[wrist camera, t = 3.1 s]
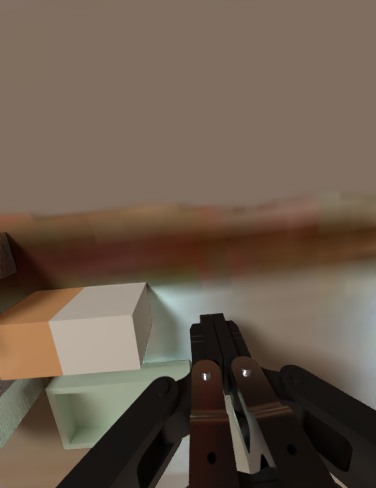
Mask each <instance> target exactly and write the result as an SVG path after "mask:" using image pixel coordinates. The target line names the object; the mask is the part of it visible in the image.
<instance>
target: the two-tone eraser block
mask: <svg viewBox="0 0 376 488" xmlns="http://www.w3.org/2000/svg"><path fill="white" fill-rule="evenodd" d="M151 326H152V323H151V315H150V308H149V301H148V293H147V286H146V283H133V284H120V285H107V286H94V287H81V288H68V289H55V290H42V291H36V292H34V293H33V294H31V295H29V296H28V297H26V298H25V299H23V300H22V301H20V302H19V303H17V304H16V305H14V306H12V307H11V308H9V309H8V310H6V311H5V312H3V313H2V314H0V378H1V380H13V379H25V378H38V377H50V376H63V375H75V374H88V373H100V372H113V371H125V370H138V369H141V366H142V362H143V358H144V354H145V350H146V346H147V342H148V338H149V334H150V330H151Z"/></svg>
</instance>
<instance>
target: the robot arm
mask: <svg viewBox="0 0 376 488" xmlns="http://www.w3.org/2000/svg"><path fill="white" fill-rule="evenodd" d="M190 339H191V352H192V368H191V371H190V372H189V373H188V374H187V375H186V376H185V377H183V378H182V379H179V380H177V381H175V380H174V379H173V378H171V377H169V376H162V377H158V378H156V379H155V380H154V381H152V382H151V384H150V385H149V386H148V387H147V388H146V389H145V390H144V391H143V392H142V393H141V395H140V396H139V397H138V398H137V399H136V400H135V401H134V402H133V403H132V404H131V405H130V407H129V408H128V409H127V410H126V411H125V412H124V413H123V414H122V415H121V416H120V418H119V419H118V420H117V421H116V422H115V423H114V424H113V425H112V426H111V427H110V429H109V430H108V431H107V432H106V433H105V434H104V435H103V436H102V437H101V438H100V440H99V441H98V442H97V443H96V444H95V445H94V446H93V447H92V448H91V449H90V451H89V452H88V453H87V454H86V455H85V456H84V457H83V458H82V459H81V460H80V462H79V463H78V464H77V465H76V466H75V467H74V468H73V469H72V470H71V471H70V473H69V474H68V475H67V476H66V477H65V478H64V479H63V480H62V481H61V482H60V484H59V485H58V486H57V487H56V488H155V487H156V485H157V483H158V481H159V480H160V478H161V476H162V475H163V473H164V471H165V469H166V468H167V466H168V464H169V463H170V461H171V459H172V457H173V456H174V454H175V452H176V451H177V449H178V447H179V445H180V443H181V441H182V438H184V437H186V436H188V435H190V443H189V485H188V486H187V487H186V488H342V487H341V486H340V485H338V484H337V483H336V482H335V481H334V480H333V478H332V476H331V474H333V475H334V476H335V477H336V478H337V479H338V480H340V481H341V482H342V483H343V484H344V485H345V486H347V487H348V488H376V410H374V409H372V408H370V407H369V406H367V405H365V404H364V403H362V402H360V401H358V400H357V399H355V398H353V397H351V396H350V395H348V394H346V393H344V392H343V391H341V390H339V389H337V388H336V387H334V386H332V385H330V384H329V383H327V382H325V381H323V380H322V379H320V378H318V377H317V376H315V375H313V374H311V373H310V372H308V371H306V370H304V369H303V368H301V367H298V366H295V365H286V366H283V367H282V368H281V370H280V372H277V371H271V370H267V369H264V368H262V367H260V366H259V364H258V363H257V362H256V361H255V360H254V359H252V358H251V355H250V353H249V351H248V349H247V346H246V344H245V342H244V340H243V338H242V335H241V333H240V331H239V328H238V326H237V325H236V324H235V323H234V322H233V321H232V320H231V321H225V318H224V316H223V313H217V314H206V315H200V323H198V324H192V326H191V328H190ZM223 390H224V392H223ZM224 394H225V395H230V397H231V401H232V413H233V416H234V419H235V422H236V425H237V429H238V432H239V435H240V438H241V441H242V444H243V448H244V451H245V454H246V457H247V461H248V465H249V470H250V474H248V473H244V472H240V471H237V467H236V460H235V454H234V447H233V441H232V434H231V428H230V422H229V416H228V414H227V412H226V405H225V398H224ZM314 415H315V416H314ZM321 420H322V421H321ZM328 425H329V426H328ZM335 430H336V431H335ZM342 435H343V436H342ZM329 472H330V473H331V474H330V473H329Z"/></svg>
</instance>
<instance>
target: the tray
mask: <svg viewBox="0 0 376 488" xmlns="http://www.w3.org/2000/svg"><path fill="white" fill-rule="evenodd" d="M189 372H190V362H189V360H184V361H172V362H159V363H147V364H142V366H141V369H138V370H125V371H113V372H100V373H88V374H75V375H63V376H55V377H54V378H53V379H52V381H51V382H50V384H49V385H48V387H47V388H46V389H45V390H46V393H47V396H48V399H49V402H50V406H51V409H52V412H53V415H54V418H55V421H56V424H57V428H58V431H59V434H60V437H61V440H62V443H63V446H64V450H67V449H79V448H91V447H93V446H94V445H95V444H96V443H97V442H98V441H99V440H100V438H101V437H102V436H103V435H104V434H105V433H106V432H107V431H108V430H109V429H110V427H111V426H112V425H113V424H114V423H115V422H116V421H117V420H118V419H119V418H120V416H121V415H122V414H123V413H124V412H125V411H126V410H127V409H128V408H129V407H130V405H131V404H132V403H133V402H134V401H135V400H136V399H137V398H138V397H139V396H140V395H141V393H142V392H143V391H144V390H145V389H146V388H147V387H148V386H149V385H150V384H151V382H152V381H154V380H155V379H156V378H158V377H162V376H169V377H171V378H173V379H174V380H175V381H177V380H179V379H182V378H183V377H185V376H186V375H187V374H188V373H189ZM189 439H190V435H188V436H186V437H184V438H182V440H189Z"/></svg>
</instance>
